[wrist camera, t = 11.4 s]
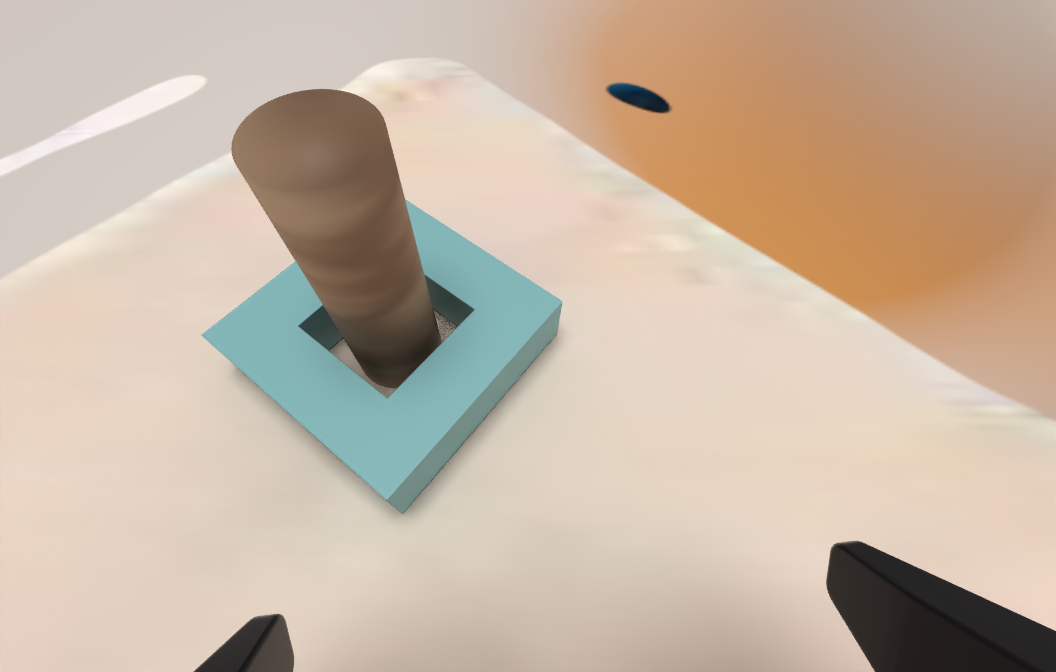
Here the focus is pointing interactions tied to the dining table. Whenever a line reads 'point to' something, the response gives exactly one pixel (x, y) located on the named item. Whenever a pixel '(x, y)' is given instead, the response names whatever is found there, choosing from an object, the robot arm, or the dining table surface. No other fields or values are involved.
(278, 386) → the socket block
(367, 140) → the walnut pin
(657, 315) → the dining table surface
